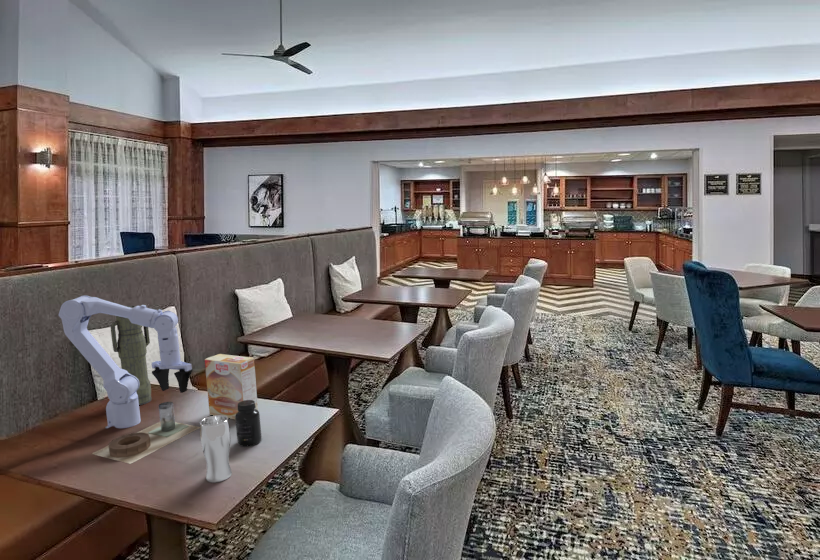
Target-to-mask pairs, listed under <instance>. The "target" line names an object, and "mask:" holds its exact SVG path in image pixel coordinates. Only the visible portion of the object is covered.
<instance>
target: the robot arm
mask: <svg viewBox="0 0 820 560" xmlns="http://www.w3.org/2000/svg"><path fill="white" fill-rule="evenodd" d="M127 306H128V305H122V304H119V303H116V302H112V301H109V300H105V299H103V298H99V297H96V296H89V295H80V296H78V297H76V298H74V299H70V300H69V299H68V300H66V301H64V302H63V303H62V304H61V306H60V310H59V312H58V317H59V318H60V319H61V323H62V328H63V333H64V335H65V336H66V338H68V340H69V341H70V342H71V343H72V345H74V347H75V348H76V349H77V351H79V353H80V354H81V355H82V356H83V357H84V359H85V360H86V361H87V362H88V363H89V364H90V366H91V367H92V368H93V369H94V370H95V371H96V373H97V374H98V375H99V376H100V377H101V378H102V381H103V382H102V386H103V387H102V388H103V389H105V391H106V394H107V397H108V399H109V400H108V402H107V404H106V407H105V411H106V412H105V414H106V419H107V420H106V421H107V426H105V428H104V429H109V428H111V427H114V428H116V429H128V428H132V427H134V426H137V425H139V424H140V423H141V421H142V420H141V412H140V406H139V401H138V395H137V392H136V391H137V390H138V388H139V385H140V383H139V380H138V379H137V378H136V377H135V376H133V375H131V374H129V373H128V371H127V370H124V369H122V368H121V367H119V365H118V364H117V363H116V362H115V361H114V359H113V358H112V357H111V355H110V354H109V353H108V352H107V351H106V349H104V347H103V346H102V345H101V344H100V342H98V340H97V339H96V338H95V337H94V336H93V335H92V333H91V332H90V331H89V329H88V326H89V325H88V324H89V322H90V318H91V317H92V315H97V314H106V315H110V316H115V317H116V316H119V317H124V318H128V319H129V320H130V322H131V323H133V324H137V325H141V326H142V327H143V326H145V327H148V328H149V329H150V328H151V329H154V330H155V331H156V332H157V340H158V348H159V349H158V350H159V358H160V359H159V360H155V361H153V362H151V368H152V371H151V374H152V375H153V377H155V379H156V381H157V382H158V384H159V387H160V389H161V391H162V392H164V391H167V390H168V389H169V388H170V383H169V381H170V380H169V379H170V378H169V376H170V375H169V374H170V370H176V372H174V373H173V374H174V377H175V378H176V381H177V383H178V389H179V390H178V391H179V392H180V394H183V393H185V392H187V391H188V385H189V382H190V377H191V375H192V373H193V368H192V366H193V365H192V363H188V362H185V361H183V360H181V359H182V358H181V352H180V342H179V334H178V329H177V325H178V323H179V317H178V315H177V314H176V313H175V312H173V311H170V310H165V311H163V309H161V308H159V309H154V308H149V307H147V305H145V304H141V305H136V306H135V307H134V308H130V307H127Z"/></svg>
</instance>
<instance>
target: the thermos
mask: <svg viewBox="0 0 820 560" xmlns="http://www.w3.org/2000/svg"><path fill="white" fill-rule="evenodd" d="M126 306H127V307H130V308H134V307H136V306H135V305H126ZM115 320H116V321H114V322H112V323H111V325H110V334H111V335H110V336H111V343H112V350H113V352H115V353H117V354H118V355H117V356H118V358H119V359H120V368H121V369H124V370H127V371H128V373H129V374H131V375H133V376H135V377H136V378H137V379H138V380H139V383H140V385H139V388H138V390H137V391H136V392H137V395H138V401H139V405H140V406H144V405H146V404H148V403H151V402H152V386H151V381H150V380H149V375H148V367H147V366H148V365H147V356H146V355H147V346H149V344H151V343H150V341H151V340H150V333H149V331H150V329H149V327H145V326H141V325H137V324H133V323H131V322H130V320H129V319H128V318H124V317H119V316H115ZM116 327H117V333H118V334H117V333H116ZM117 337H118V338H117ZM143 404H144V405H143Z"/></svg>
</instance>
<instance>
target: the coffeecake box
mask: <svg viewBox="0 0 820 560" xmlns="http://www.w3.org/2000/svg"><path fill="white" fill-rule="evenodd" d="M204 366H205V376H206V388H207V390H206V391H207V399H208V401H207V402H208V409H209V410H208V411H209V416H210V415H213V416H215V415H224V416H227V417H228V419H229V418H230V419H229V420H235V415H236V413H237V412H239V411H238V403H239V402H241V401H245V400H253V401H255V406H256V408H255V409H257V410H258V411H259V406H258V394H257V380H256V367H255V357H252V356H251V357H250V356H242V355H240V356H239V355H231V354H224V353H218V354H216V355H211V356H209V357H207V358H205V359H204Z"/></svg>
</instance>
